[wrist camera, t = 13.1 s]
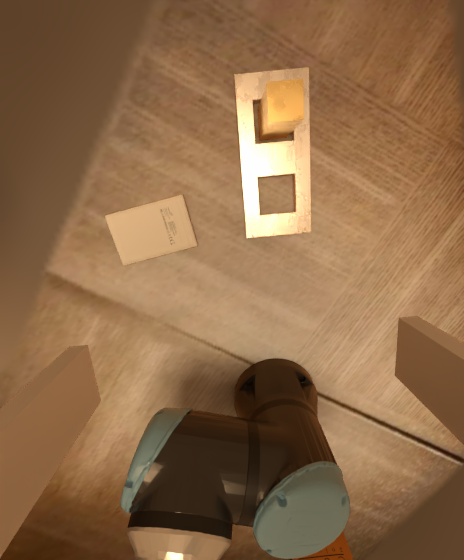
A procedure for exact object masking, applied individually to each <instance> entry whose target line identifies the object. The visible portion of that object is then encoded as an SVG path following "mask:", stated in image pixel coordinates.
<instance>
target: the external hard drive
mask: <svg viewBox="0 0 464 560" xmlns="http://www.w3.org/2000/svg"><path fill="white" fill-rule="evenodd" d="M105 218H106V221H107V224H108V227H109V229H110V232H111V235H112V237H113V240H114V243H115V245H116V248H117V251H118V253H119V256H120V259H121V261H122V264H123V265H128V264H132V263H136V262H139V261H143V260H147V259H151V258H154V257H158V256H162V255H166V254H169V253H173V252H177V251H181V250H184V249H188V248H192V247H196V246H198V244H197V240H196V237H195V234H194V230H193V227H192V224H191V221H190V217H189V213H188V210H187V206H186V203H185V200H184V196H183V195H178V196H175V197H171V198H167V199H164V200H160V201H156V202H153V203H149V204H145V205H142V206H138V207H134V208H130V209H127V210H123V211H120V212H116V213H112V214H109V215H105Z"/></svg>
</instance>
